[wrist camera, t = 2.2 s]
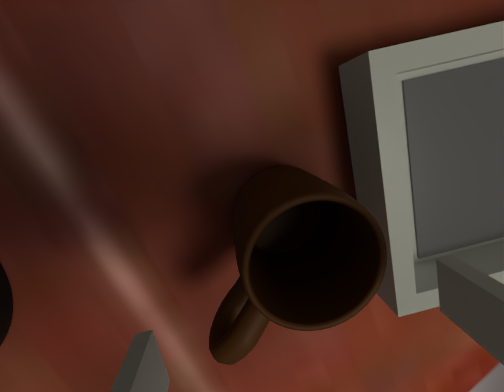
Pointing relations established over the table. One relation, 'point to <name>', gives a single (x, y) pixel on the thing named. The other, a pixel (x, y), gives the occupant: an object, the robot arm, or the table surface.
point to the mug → (296, 260)
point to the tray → (430, 156)
